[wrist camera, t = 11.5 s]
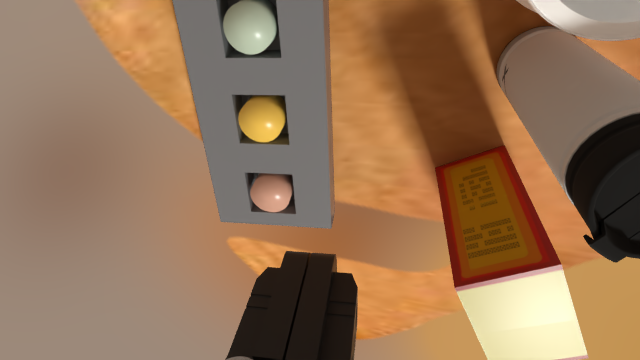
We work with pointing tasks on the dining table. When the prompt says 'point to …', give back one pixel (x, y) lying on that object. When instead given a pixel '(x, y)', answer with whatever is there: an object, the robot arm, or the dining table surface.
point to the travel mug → (581, 129)
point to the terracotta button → (272, 191)
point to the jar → (591, 17)
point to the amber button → (263, 117)
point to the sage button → (251, 25)
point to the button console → (264, 79)
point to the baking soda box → (505, 262)
